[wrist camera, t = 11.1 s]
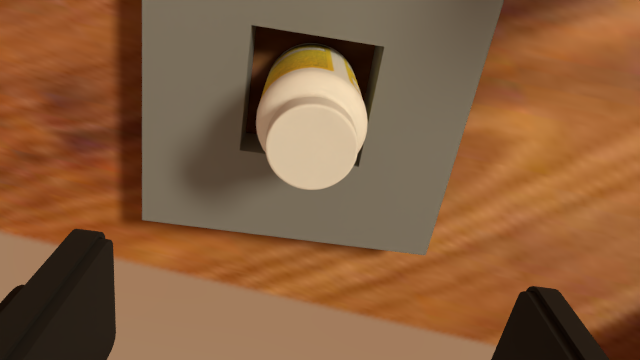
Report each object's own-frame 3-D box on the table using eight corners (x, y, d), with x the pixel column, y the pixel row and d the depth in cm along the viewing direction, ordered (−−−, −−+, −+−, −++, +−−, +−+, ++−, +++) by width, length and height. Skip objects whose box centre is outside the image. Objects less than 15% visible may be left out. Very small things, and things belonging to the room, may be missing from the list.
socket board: (497, -50, 26) (519, -50, 23) (416, 230, 33) (425, 255, 31) (160, -112, 24) (141, -120, 21) (156, 197, 32) (142, 220, 29)
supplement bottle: (249, 97, 29) (223, 162, 20) (300, 22, 27) (295, 57, 18) (321, 145, 30) (326, 224, 22) (374, 76, 29) (402, 133, 20)
